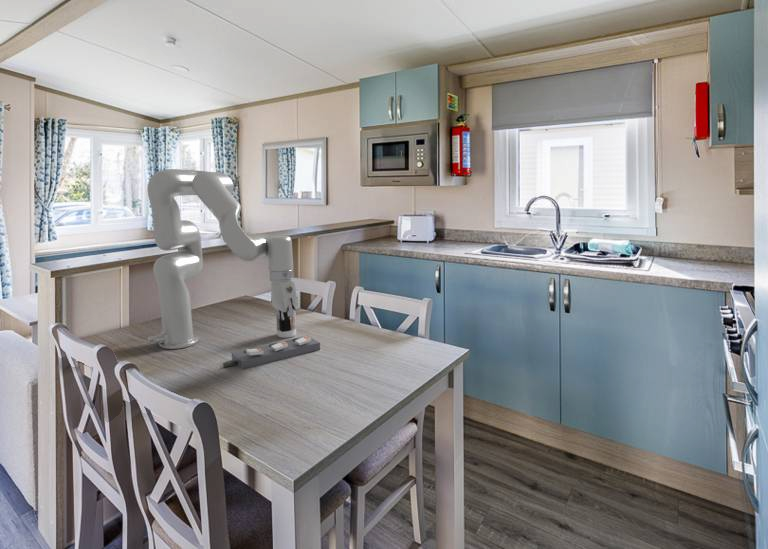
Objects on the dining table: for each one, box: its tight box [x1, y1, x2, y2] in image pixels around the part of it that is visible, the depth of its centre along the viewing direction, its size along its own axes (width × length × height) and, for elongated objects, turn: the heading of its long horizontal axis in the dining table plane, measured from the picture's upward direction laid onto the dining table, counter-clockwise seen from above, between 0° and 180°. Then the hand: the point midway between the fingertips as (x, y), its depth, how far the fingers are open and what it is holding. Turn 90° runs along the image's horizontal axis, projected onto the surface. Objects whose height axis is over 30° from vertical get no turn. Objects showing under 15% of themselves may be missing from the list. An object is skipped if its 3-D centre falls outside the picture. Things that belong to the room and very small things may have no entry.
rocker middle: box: [271, 340, 288, 351], centre depth 147 cm, size 4×3×1 cm
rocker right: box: [295, 335, 312, 345], centre depth 152 cm, size 4×3×1 cm
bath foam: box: [275, 309, 297, 339], centre depth 167 cm, size 7×7×20 cm
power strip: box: [222, 335, 321, 370], centre depth 148 cm, size 31×9×3 cm, turn 127°
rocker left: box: [245, 348, 264, 355], centre depth 142 cm, size 4×3×1 cm
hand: (285, 330), depth 147 cm, fingers closed
